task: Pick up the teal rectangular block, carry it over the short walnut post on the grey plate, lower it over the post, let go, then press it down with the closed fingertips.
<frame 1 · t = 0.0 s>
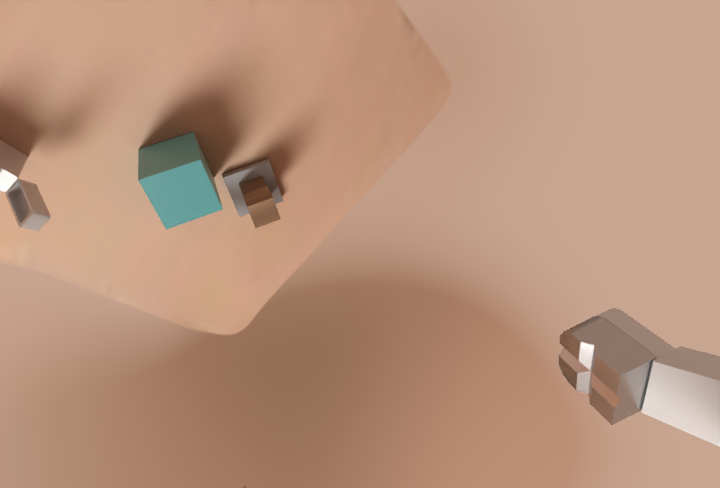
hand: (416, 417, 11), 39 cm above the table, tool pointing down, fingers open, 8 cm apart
lighter: (15, 158, 39), on the table
post: (253, 186, 48), on the table
teal rectangular block: (178, 164, 44), on the table
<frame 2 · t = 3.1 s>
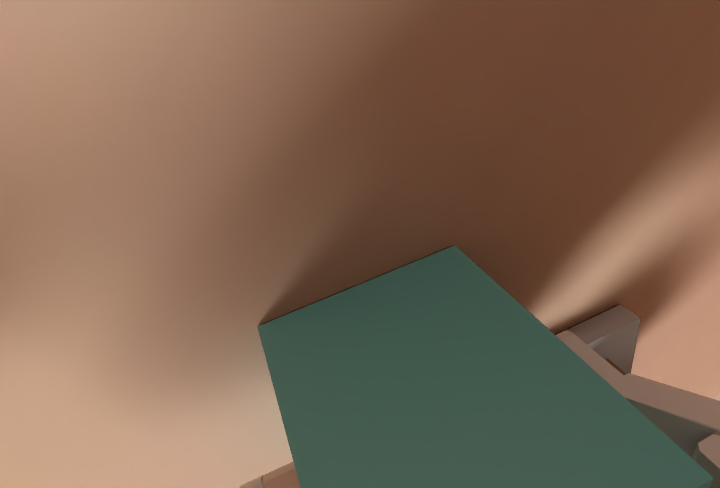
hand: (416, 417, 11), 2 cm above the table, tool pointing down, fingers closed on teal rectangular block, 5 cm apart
post: (556, 381, 16), on the table
teal rectangular block: (380, 356, 12), on the table, touching gripper
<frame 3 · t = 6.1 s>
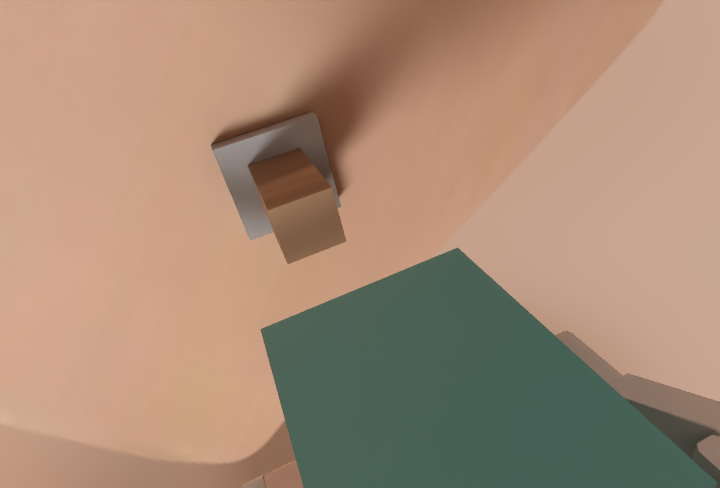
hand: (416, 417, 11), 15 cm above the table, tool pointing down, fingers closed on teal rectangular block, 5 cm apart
post: (278, 174, 23), on the table
teal rectangular block: (382, 358, 12), point 13 cm above the table, touching gripper
when the fingers open (4 cm above the table, at t = 8.7 s): teal rectangular block stays where it is, resting on post.
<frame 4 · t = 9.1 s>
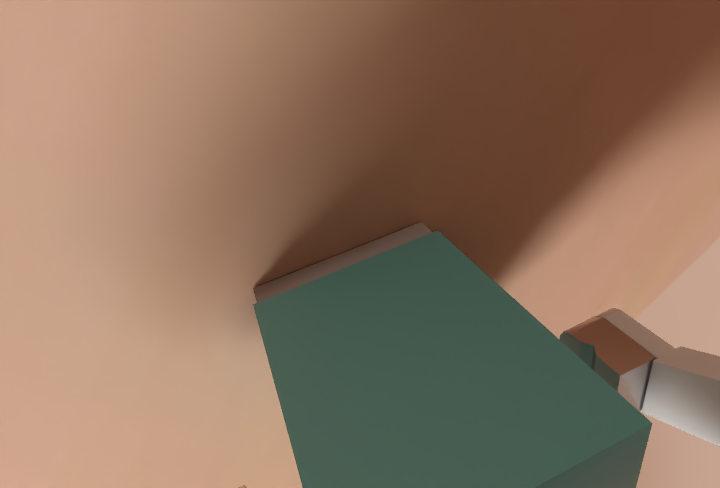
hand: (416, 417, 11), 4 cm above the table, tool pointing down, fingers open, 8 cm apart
post: (359, 319, 14), on the table
teal rectangular block: (369, 335, 13), point 1 cm above the table, touching post
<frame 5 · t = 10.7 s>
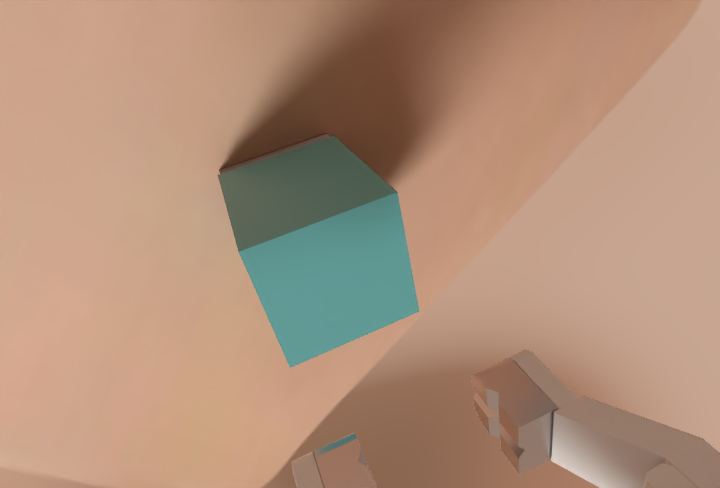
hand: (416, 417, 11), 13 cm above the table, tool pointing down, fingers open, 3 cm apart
post: (290, 200, 21), on the table
teal rectangular block: (294, 207, 21), point 1 cm above the table, touching post
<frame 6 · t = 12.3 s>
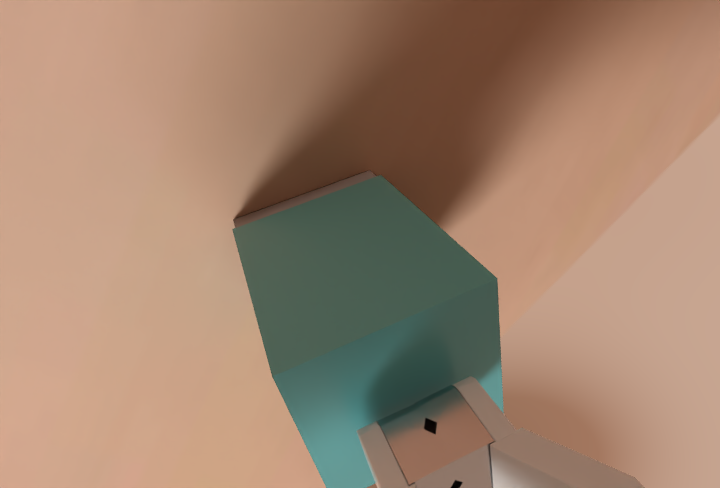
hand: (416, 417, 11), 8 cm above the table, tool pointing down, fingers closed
post: (321, 252, 17), on the table
teal rectangular block: (328, 263, 16), point 1 cm above the table, touching post
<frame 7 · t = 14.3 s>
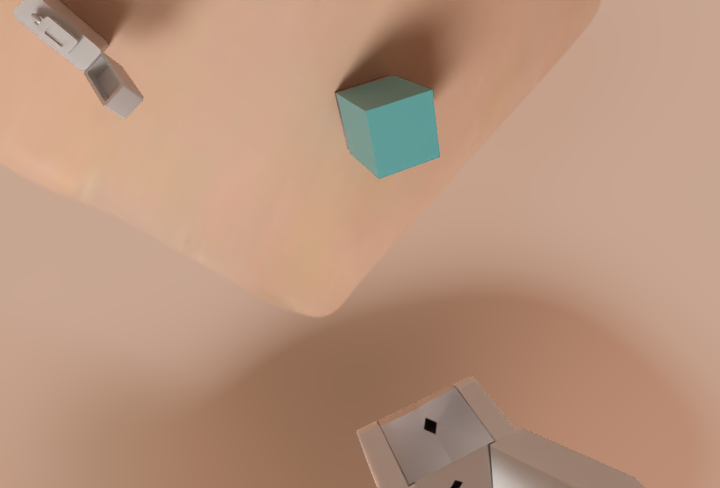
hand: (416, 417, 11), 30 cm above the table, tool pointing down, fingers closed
lighter: (93, 46, 30), on the table
teal rectangular block: (371, 115, 38), point 1 cm above the table, touching post
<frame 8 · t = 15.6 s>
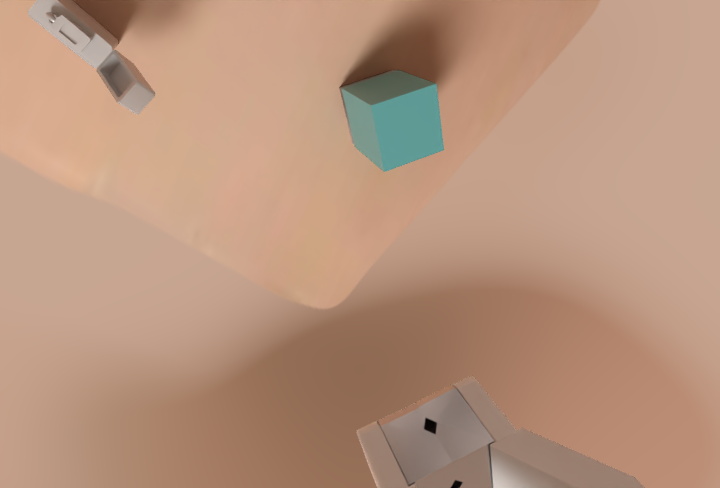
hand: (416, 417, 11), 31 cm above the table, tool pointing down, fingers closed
lighter: (104, 44, 31), on the table
teal rectangular block: (375, 109, 39), point 1 cm above the table, touching post
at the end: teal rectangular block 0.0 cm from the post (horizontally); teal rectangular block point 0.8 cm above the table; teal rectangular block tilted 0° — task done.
